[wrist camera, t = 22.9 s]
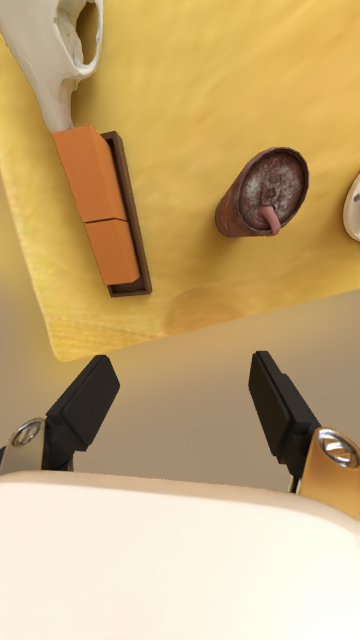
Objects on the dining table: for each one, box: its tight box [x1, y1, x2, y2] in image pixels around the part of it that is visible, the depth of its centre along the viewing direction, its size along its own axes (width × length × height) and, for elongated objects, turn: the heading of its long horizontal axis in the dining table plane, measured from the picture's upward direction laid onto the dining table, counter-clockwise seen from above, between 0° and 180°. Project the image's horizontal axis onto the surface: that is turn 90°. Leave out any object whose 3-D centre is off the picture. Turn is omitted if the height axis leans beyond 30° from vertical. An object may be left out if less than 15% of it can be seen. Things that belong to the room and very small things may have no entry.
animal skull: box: [0, 0, 103, 133], centre depth 16 cm, size 10×16×10 cm, turn 152°
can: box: [215, 147, 309, 237], centre depth 19 cm, size 6×6×14 cm
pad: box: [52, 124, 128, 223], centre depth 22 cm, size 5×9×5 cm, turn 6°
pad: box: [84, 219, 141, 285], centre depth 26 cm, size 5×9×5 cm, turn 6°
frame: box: [86, 131, 152, 297], centre depth 27 cm, size 8×22×2 cm, turn 6°
